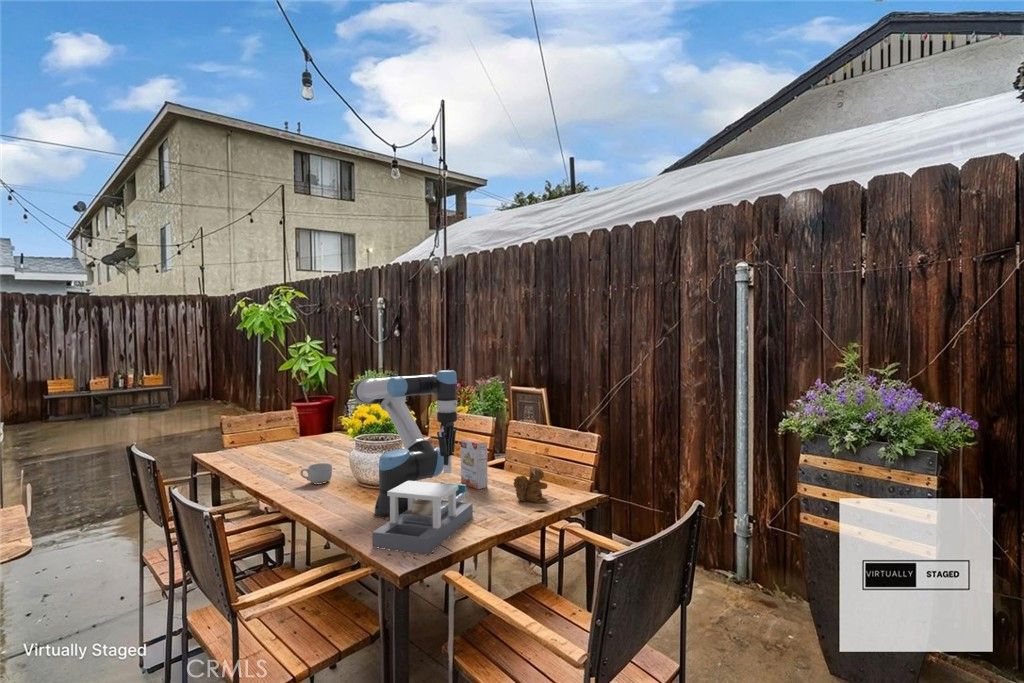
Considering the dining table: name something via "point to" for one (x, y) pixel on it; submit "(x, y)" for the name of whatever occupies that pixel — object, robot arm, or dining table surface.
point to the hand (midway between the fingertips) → (447, 472)
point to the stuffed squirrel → (530, 486)
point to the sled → (429, 519)
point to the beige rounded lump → (422, 507)
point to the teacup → (318, 472)
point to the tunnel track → (416, 534)
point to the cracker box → (474, 463)
